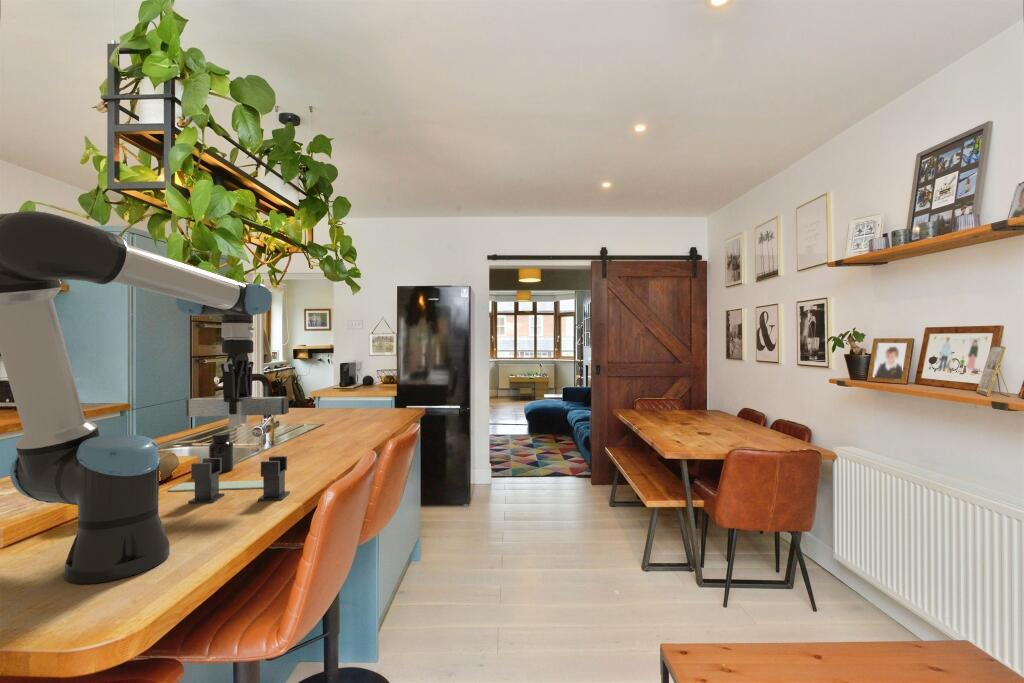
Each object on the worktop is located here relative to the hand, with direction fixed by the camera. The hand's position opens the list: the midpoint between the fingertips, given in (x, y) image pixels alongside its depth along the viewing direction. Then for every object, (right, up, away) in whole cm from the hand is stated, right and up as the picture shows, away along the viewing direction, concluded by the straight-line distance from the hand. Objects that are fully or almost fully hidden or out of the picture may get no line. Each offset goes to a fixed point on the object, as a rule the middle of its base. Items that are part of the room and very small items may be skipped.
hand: (238, 424), depth 131 cm
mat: (-8, -19, +7) cm, 22 cm away
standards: (+3, -19, -4) cm, 20 cm away
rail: (0, +3, 0) cm, 3 cm away
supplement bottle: (-19, -19, +24) cm, 37 cm away
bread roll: (-33, -20, +15) cm, 41 cm away
